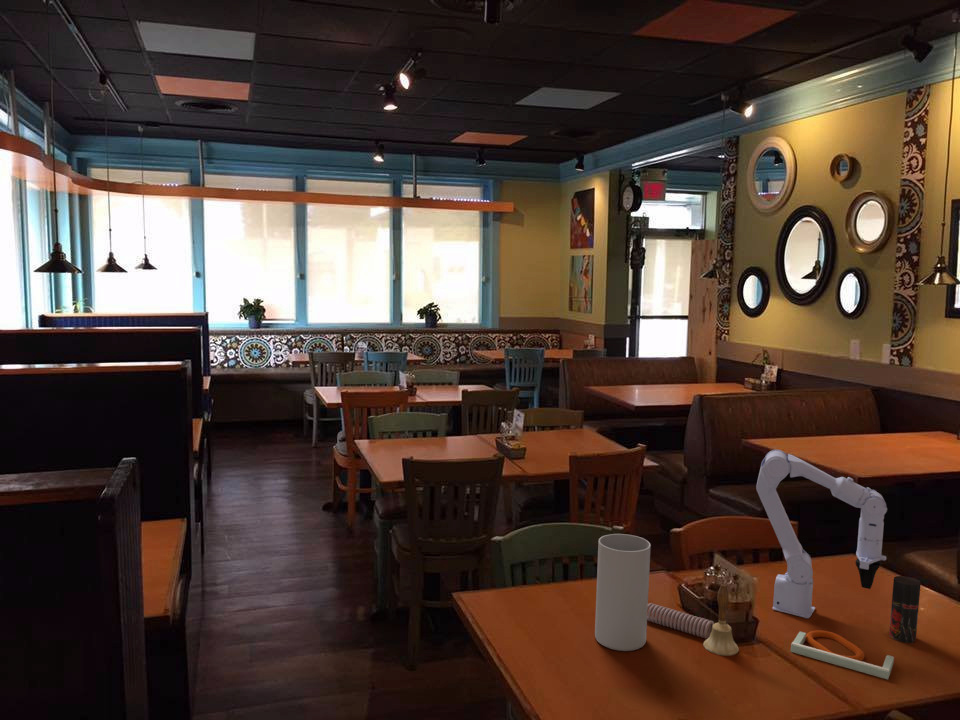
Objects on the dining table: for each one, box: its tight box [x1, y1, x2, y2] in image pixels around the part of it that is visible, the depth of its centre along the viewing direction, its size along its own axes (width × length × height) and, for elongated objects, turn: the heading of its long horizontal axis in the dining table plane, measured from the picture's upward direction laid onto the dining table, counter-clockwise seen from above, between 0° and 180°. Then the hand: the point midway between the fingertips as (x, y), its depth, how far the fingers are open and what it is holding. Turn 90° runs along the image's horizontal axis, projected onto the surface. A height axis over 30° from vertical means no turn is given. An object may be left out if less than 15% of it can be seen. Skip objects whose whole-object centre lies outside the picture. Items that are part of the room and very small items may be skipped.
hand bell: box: [702, 583, 740, 657], centre depth 183 cm, size 8×8×16 cm
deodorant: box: [888, 575, 922, 644], centre depth 191 cm, size 6×6×15 cm
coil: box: [647, 602, 715, 640], centre depth 194 cm, size 5×5×18 cm
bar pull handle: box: [790, 631, 895, 680], centre depth 180 cm, size 21×9×2 cm, turn 54°
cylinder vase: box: [594, 533, 652, 652], centre depth 186 cm, size 12×12×25 cm
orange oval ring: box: [805, 629, 865, 662], centre depth 185 cm, size 10×2×15 cm
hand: (866, 587), depth 199 cm, fingers closed
